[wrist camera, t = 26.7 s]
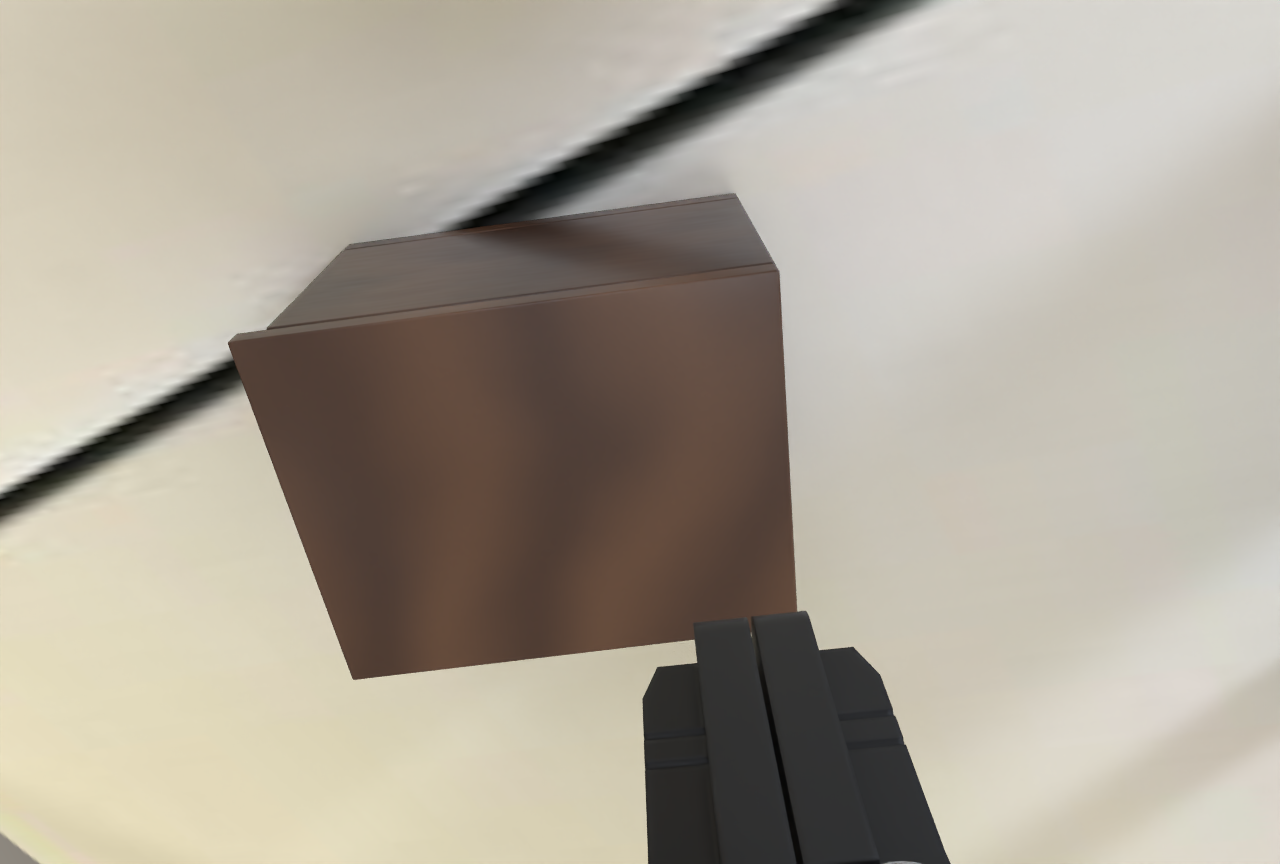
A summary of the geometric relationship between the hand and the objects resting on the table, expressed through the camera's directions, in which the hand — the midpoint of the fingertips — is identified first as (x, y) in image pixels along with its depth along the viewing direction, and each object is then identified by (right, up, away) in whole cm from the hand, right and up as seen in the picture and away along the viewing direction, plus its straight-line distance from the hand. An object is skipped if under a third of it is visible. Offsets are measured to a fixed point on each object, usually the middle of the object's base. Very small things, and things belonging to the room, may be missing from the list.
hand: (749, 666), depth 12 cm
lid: (-5, +1, +16) cm, 17 cm away
